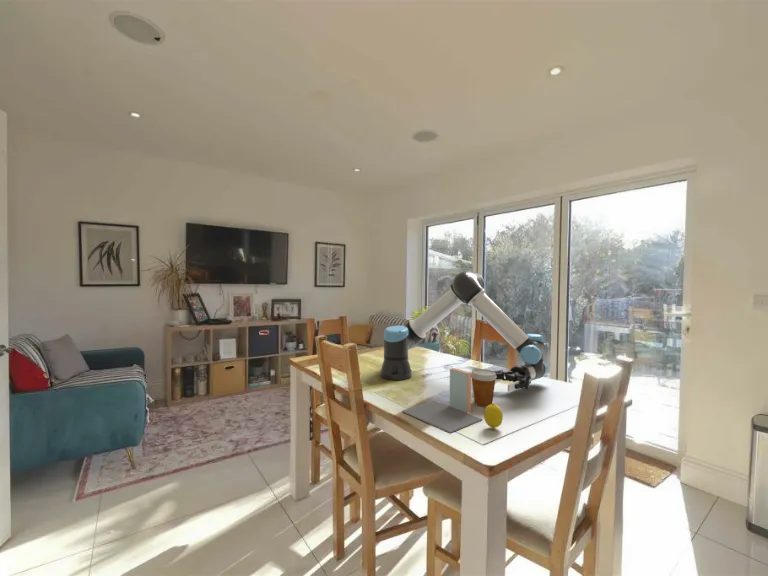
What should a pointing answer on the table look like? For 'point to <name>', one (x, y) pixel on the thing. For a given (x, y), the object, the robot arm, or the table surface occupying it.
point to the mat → (442, 416)
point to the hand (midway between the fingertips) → (492, 383)
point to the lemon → (493, 415)
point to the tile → (460, 390)
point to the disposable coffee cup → (483, 386)
